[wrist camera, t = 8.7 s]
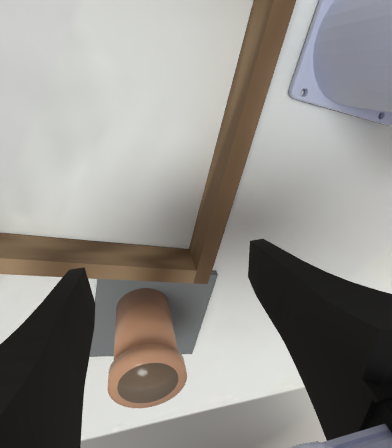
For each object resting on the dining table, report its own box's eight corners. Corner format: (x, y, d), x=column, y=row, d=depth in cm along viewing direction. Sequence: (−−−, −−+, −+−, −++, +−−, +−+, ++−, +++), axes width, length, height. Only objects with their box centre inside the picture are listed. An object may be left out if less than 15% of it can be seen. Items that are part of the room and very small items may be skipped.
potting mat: (215, 270, 26) (217, 275, 25) (190, 349, 30) (192, 353, 29) (99, 263, 23) (98, 267, 22) (89, 351, 27) (88, 356, 26)
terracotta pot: (155, 275, 24) (166, 344, 17) (181, 313, 26) (198, 385, 20) (100, 303, 24) (91, 382, 18) (131, 338, 26) (133, 418, 20)
